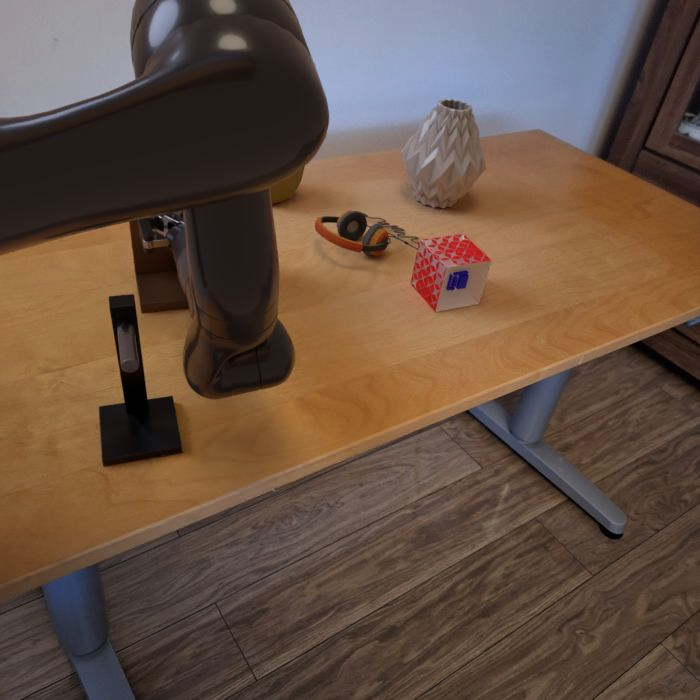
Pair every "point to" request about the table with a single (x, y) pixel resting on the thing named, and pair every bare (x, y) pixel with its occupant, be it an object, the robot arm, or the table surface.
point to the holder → (135, 400)
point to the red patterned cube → (450, 272)
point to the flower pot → (286, 187)
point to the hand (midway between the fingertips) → (190, 202)
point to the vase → (444, 155)
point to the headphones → (358, 233)
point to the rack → (156, 276)
